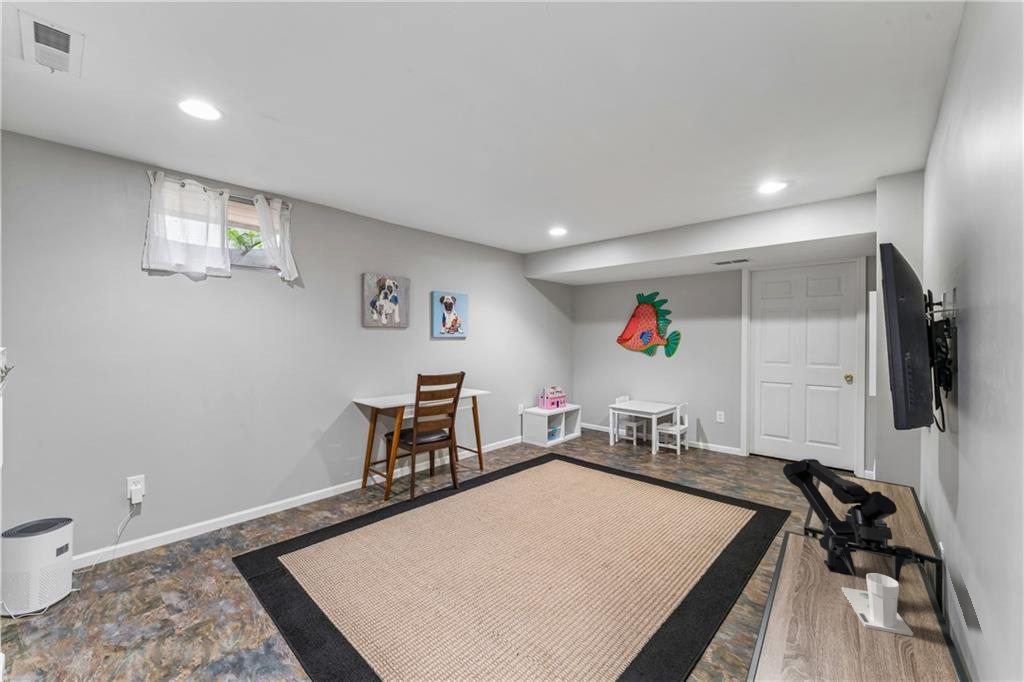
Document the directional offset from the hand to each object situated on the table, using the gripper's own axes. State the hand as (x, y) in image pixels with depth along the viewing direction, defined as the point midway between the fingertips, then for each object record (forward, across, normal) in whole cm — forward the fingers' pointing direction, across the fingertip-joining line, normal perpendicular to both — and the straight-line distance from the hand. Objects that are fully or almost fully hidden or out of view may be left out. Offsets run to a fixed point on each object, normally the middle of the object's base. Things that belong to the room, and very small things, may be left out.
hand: (875, 580), depth 120 cm
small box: (-24, +7, +37) cm, 45 cm away
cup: (+10, 0, +1) cm, 10 cm away
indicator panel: (+6, 0, +6) cm, 8 cm away
